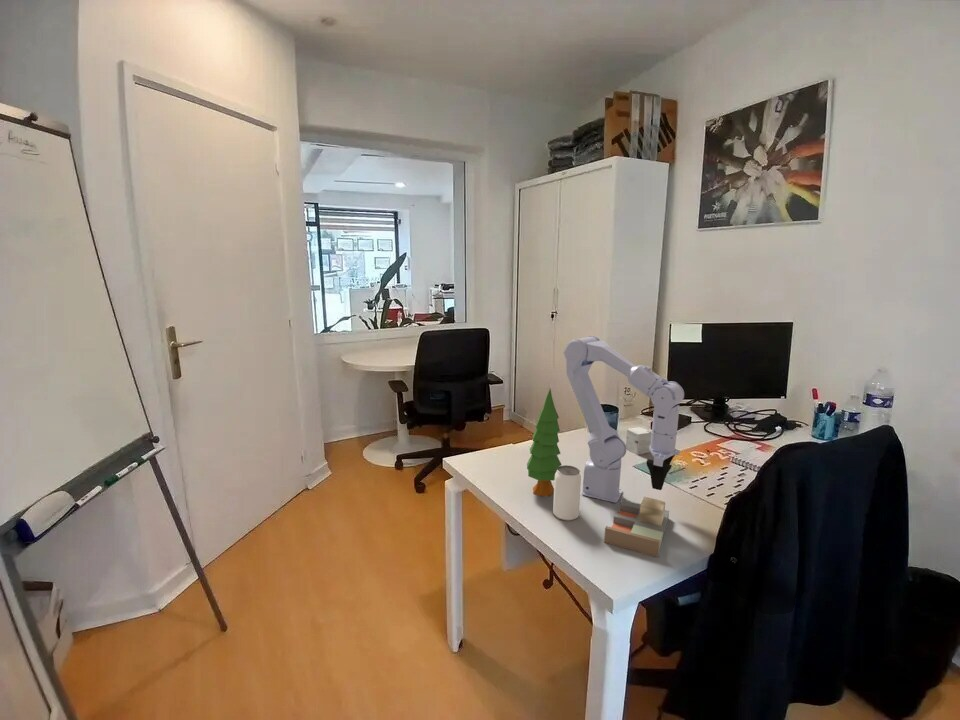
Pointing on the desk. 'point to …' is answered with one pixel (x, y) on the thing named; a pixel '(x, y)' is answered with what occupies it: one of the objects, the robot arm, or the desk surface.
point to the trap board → (635, 530)
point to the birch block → (652, 511)
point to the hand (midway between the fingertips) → (659, 482)
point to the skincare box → (638, 440)
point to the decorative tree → (545, 449)
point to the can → (567, 493)
